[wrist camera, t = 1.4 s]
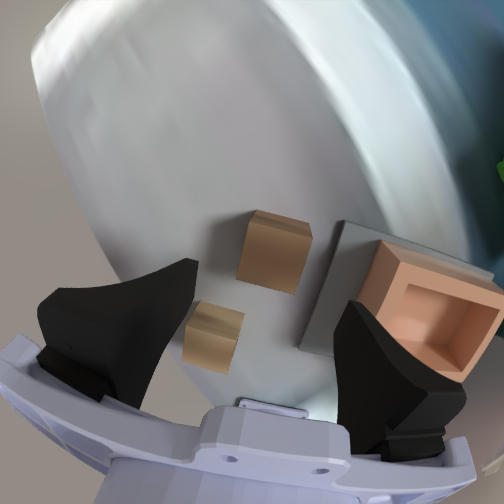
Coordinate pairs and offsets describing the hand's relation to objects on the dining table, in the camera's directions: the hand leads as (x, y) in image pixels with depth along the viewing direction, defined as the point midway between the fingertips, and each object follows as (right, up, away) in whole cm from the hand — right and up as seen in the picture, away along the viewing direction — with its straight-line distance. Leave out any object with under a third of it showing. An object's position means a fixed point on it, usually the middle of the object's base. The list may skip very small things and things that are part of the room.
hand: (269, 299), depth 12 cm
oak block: (-4, -4, +12) cm, 13 cm away
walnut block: (+1, +3, +9) cm, 9 cm away
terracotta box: (+14, -3, +8) cm, 16 cm away
